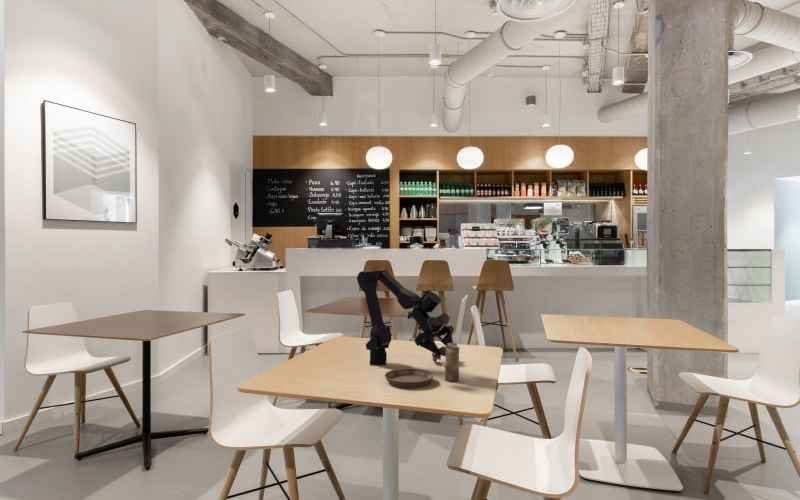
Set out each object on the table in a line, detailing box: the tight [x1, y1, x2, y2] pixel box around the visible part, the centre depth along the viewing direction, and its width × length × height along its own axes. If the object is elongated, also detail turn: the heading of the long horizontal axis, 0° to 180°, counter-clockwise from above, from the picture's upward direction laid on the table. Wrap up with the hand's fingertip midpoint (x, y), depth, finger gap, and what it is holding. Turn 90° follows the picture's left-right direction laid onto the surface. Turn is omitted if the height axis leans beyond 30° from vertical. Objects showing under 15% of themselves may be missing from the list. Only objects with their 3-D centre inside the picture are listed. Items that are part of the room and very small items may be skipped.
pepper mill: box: [444, 342, 460, 383], centre depth 175 cm, size 5×5×14 cm
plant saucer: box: [384, 368, 434, 389], centre depth 173 cm, size 18×18×3 cm
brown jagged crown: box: [431, 345, 447, 363], centre depth 202 cm, size 12×10×8 cm
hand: (447, 353), depth 177 cm, fingers open, 9 cm apart
